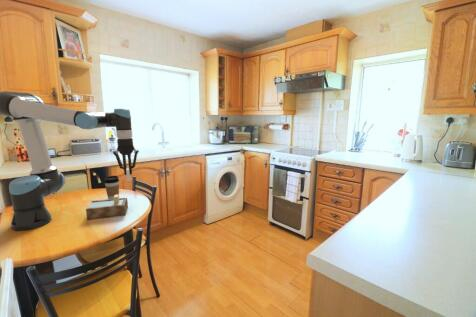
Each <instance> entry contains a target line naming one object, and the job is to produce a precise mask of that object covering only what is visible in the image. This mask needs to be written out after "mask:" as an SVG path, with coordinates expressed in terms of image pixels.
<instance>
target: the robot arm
mask: <svg viewBox="0 0 476 317" xmlns="http://www.w3.org/2000/svg"><path fill="white" fill-rule="evenodd" d="M0 115H1V116H3V117H11V118H12V120H13V122H14V123H17V124H18V127H19V130H20V133H21V136H22V139H23V140H22V141H23V143H24V146H25V149H26V153H27V156H28V159H29V163H30V165H31V171H30V172H29V175H25V176H20V177H17V178H15V179H13V180H11V181H10V183H9V184H8V192H9V195H10V201H11V205H12V210H13V215H12V219H11V222H10V226H11V229H12V230H13V231H28V230H32V229H36V228H40V227H43V226H45V225H46V224H49V223H50V222H51V221H52V215H51V213H50V211H49V210H48V208H47V207H46V206H45V205H46V204H45V198H46V197H48V196H50V195H52V194H55V193H58V191H60V190H62V188H63V187H64V185H65V183H66V179H65V178H66V177H65V176H64V174H63V173H61V172H60V171H59V170H58V168H57V167H56V166H54V165H53V163H52V158H51V156H50V152H49V148H48V146H47V145H48V144H47V141H46V137H45V134H44V131H43V127H42V124H41V121H47V122H52V123H56V124H57V123H58V124H64V125H69V126H74V127H79V129H82V130H93V129H99V128H101V129H102V128H115V133H116V138H117V139H116V141H117V142H116V143H117V148H116V150H114V151H112V154H113V155H114V156H115V159H116V161H117V164H118V167H119V168H120V169H121V170H123V172H124V173H123V174H124V176H126V181H127V182H130V181H131V179H132V178H131V177H132V176H131V175H132V174H133V169H134V168H135V167H136V163H137V157H138V153H140V150H139V149H136V148H135V146H134V139H133V138H132V137H133V130H132V117H131V116H132V115H131V110H130V109H129V108H114V109H113V112H89V111H84V110H78V109H73V108H68V107H63V106H58V105H51V104H48V103H44V101H43V99H41V98H40V97H39V96H38V95H36V94H32V93H29V92H17V91H16V92H15V91H7V90H6V91H0ZM132 153H134V156H133V160H132V157H131V156H132ZM119 154H120V155H121V157H120V155H119ZM126 157H127V158H126ZM121 158H122V160H121ZM127 162H128V167H127Z"/></svg>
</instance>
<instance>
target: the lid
mask: <svg viewBox="0 0 476 317" xmlns="http://www.w3.org/2000/svg"><path fill="white" fill-rule="evenodd" d="M119 198H120V193H119V194H118V195H115V196H114V200H113V201H103V202H94V203H92V202H90V204H89V205H88V207H87V208H95V207H104V206H113V205H122V204H123V201H124V199H123V200H119Z"/></svg>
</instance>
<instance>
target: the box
mask: <svg viewBox="0 0 476 317" xmlns="http://www.w3.org/2000/svg"><path fill="white" fill-rule="evenodd" d="M123 199H124V201H123V204H122V205H113V206H104V207H95V208H88V207H87V208H86V209H85V213H86V220H87V221H89V220H90V221H91V220H98V219H99V220H100V219H106V218H108V219H109V218H114V217H115V218H117V217H124V216H126V214H127V211H128V209H129V205H128V204H129V202H128V197H119V200H123ZM113 200H114V199H108V198H107V199H97V200H91V203H94V202H103V201H113Z"/></svg>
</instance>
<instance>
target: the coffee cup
mask: <svg viewBox="0 0 476 317" xmlns="http://www.w3.org/2000/svg"><path fill="white" fill-rule="evenodd" d="M103 182H104V186H105V187H104V188H105V190H106V191H105V192H106V195H107V199H114V196H115V195H118V194H119V195H120V183H119V182H120V179H119V176H118V175H109V176H107V177H104V180H103Z"/></svg>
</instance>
